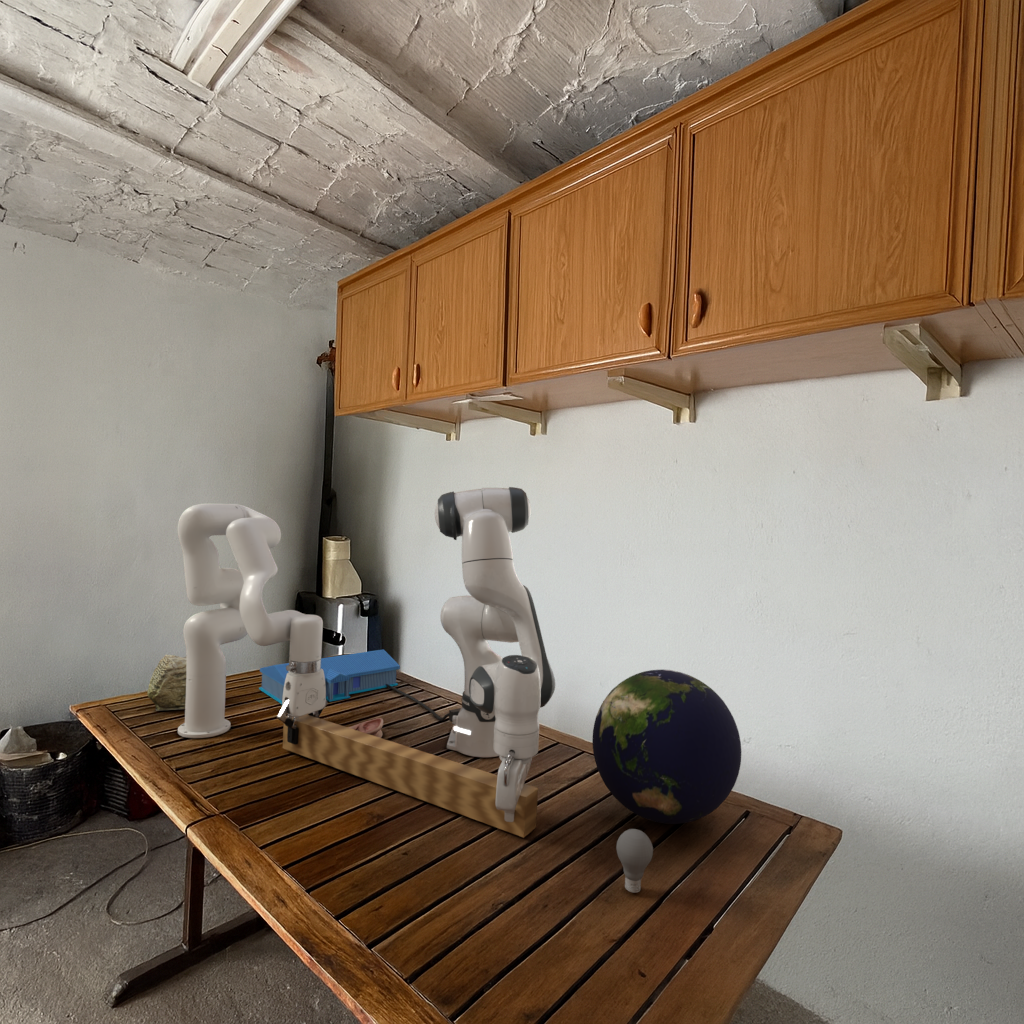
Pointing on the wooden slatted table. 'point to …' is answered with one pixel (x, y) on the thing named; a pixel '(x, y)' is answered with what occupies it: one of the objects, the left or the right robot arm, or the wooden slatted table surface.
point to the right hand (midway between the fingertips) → (513, 810)
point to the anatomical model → (370, 727)
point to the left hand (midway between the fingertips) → (301, 738)
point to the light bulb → (634, 857)
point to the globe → (666, 746)
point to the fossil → (169, 683)
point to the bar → (412, 773)
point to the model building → (340, 675)
